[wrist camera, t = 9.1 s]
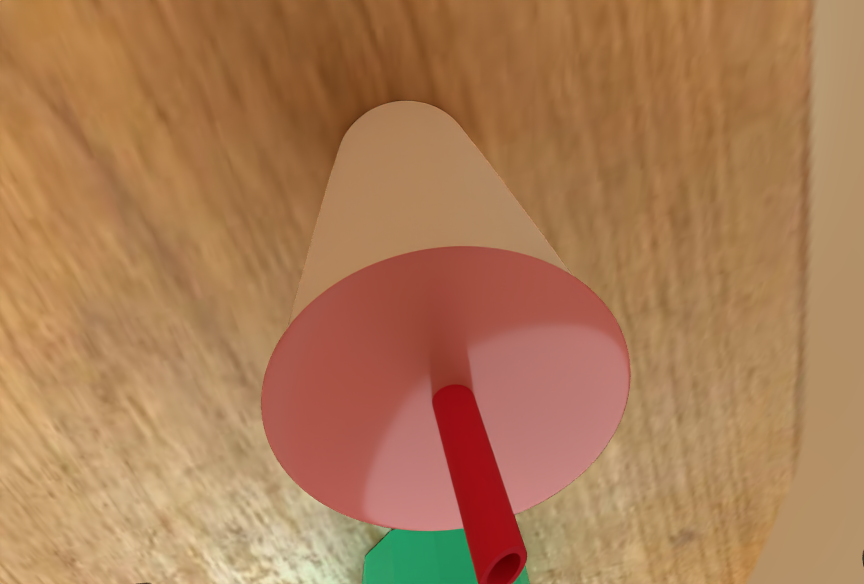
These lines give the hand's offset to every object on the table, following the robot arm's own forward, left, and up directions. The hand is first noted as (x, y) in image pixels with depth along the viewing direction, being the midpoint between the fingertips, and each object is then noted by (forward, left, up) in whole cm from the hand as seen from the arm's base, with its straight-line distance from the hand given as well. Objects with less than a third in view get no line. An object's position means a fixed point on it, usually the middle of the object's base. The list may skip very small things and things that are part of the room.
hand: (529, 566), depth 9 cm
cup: (+1, -1, -12) cm, 12 cm away
